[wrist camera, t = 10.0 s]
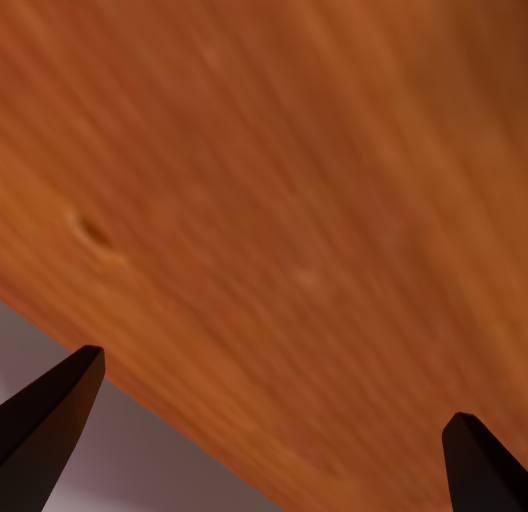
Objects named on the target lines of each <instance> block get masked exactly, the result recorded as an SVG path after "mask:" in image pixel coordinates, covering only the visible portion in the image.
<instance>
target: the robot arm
mask: <svg viewBox="0 0 528 512" xmlns="http://www.w3.org/2000/svg"><path fill="white" fill-rule="evenodd" d="M104 375H105V356H104V349H103V348H102V347H100V346H94V345H85V346H83V347H81V348H80V349H79V350H77V351H76V352H74V353H73V354H72V355H70V356H69V357H67V358H66V359H64V360H63V361H62V362H60V363H59V364H57V365H56V366H55V367H53V368H52V369H51V370H49V371H47V372H46V373H45V374H43V375H42V376H40V377H39V378H38V379H36V380H35V381H33V382H32V383H31V384H29V385H28V386H27V387H25V388H23V389H22V390H21V391H19V392H18V393H16V394H15V395H14V396H12V397H11V398H9V399H8V400H7V401H5V402H4V403H3V404H1V405H0V512H41V511H42V510H43V508H44V506H45V504H46V502H47V500H48V498H49V496H50V494H51V492H52V490H53V489H54V487H55V485H56V483H57V481H58V479H59V477H60V475H61V473H62V471H63V469H64V468H65V466H66V464H67V462H68V460H69V458H70V456H71V454H72V452H73V450H74V448H75V446H76V444H77V442H78V440H79V438H80V436H81V434H82V431H83V429H84V426H85V424H86V421H87V419H88V416H89V413H90V411H91V408H92V406H93V403H94V401H95V398H96V396H97V393H98V391H99V388H100V386H101V383H102V381H103V378H104ZM442 444H443V451H444V458H445V465H446V471H447V478H448V485H449V492H450V498H451V503H452V508H453V512H528V472H527V471H526V469H525V468H524V467H523V466H522V465H521V464H520V463H519V462H518V461H517V460H516V459H515V458H514V456H513V455H512V454H511V453H510V452H509V451H508V450H507V449H506V448H505V447H504V446H503V445H502V444H501V442H500V441H499V440H498V439H497V438H496V437H495V436H494V435H493V434H492V433H491V432H490V431H489V430H488V428H487V427H486V426H485V425H484V424H483V423H482V422H481V421H480V420H479V419H478V418H477V417H476V416H475V415H473V414H469V413H463V412H457V413H456V414H455V415H454V416H453V417H452V419H451V420H450V421H449V423H448V424H447V425H446V427H445V428H444V429H443V432H442Z"/></svg>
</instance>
